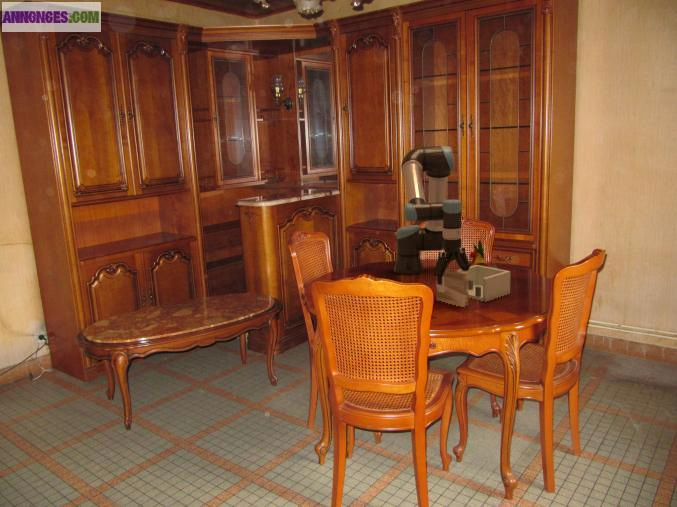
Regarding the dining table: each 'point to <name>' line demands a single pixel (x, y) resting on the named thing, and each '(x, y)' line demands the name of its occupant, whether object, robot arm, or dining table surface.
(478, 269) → the cabinet
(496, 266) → the pocket watch
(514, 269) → the dining table surface
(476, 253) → the ornament
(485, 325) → the dining table surface
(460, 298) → the door
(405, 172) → the robot arm
